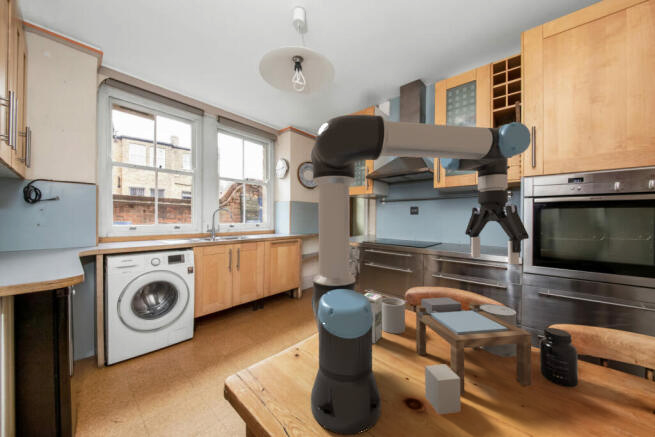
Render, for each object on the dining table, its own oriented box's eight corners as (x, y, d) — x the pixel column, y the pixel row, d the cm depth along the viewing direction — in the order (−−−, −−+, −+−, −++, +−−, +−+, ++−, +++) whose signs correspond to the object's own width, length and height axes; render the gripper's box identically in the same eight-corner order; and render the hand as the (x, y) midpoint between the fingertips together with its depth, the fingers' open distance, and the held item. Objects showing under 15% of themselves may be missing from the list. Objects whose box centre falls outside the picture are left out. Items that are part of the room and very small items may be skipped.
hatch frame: (456, 394, 55) (456, 333, 55) (416, 351, 72) (416, 305, 73) (531, 385, 57) (531, 327, 58) (475, 346, 75) (474, 302, 75)
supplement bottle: (541, 367, 65) (540, 323, 65) (577, 379, 60) (577, 331, 60) (539, 379, 60) (538, 331, 60) (578, 393, 55) (577, 341, 55)
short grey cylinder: (517, 361, 68) (516, 317, 68) (477, 350, 73) (477, 310, 73) (516, 346, 75) (515, 307, 75) (480, 337, 81) (480, 301, 81)
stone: (438, 414, 49) (438, 380, 49) (425, 396, 54) (425, 366, 54) (460, 411, 50) (460, 378, 50) (445, 394, 55) (445, 364, 55)
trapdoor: (457, 342, 59) (456, 326, 59) (415, 311, 79) (415, 299, 79) (508, 338, 61) (508, 322, 61) (454, 308, 81) (454, 297, 81)
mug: (398, 336, 82) (398, 307, 82) (374, 327, 88) (374, 301, 89) (411, 325, 90) (411, 299, 90) (388, 318, 96) (388, 294, 97)
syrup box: (367, 332, 85) (366, 292, 85) (382, 337, 81) (382, 295, 81) (359, 339, 80) (359, 296, 80) (375, 344, 77) (375, 299, 77)
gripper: (546, 184, 61) (546, 267, 60) (472, 195, 85) (473, 254, 85) (520, 184, 60) (521, 268, 59) (453, 194, 84) (454, 254, 84)
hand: (492, 260), depth 72 cm, fingers open, 13 cm apart
